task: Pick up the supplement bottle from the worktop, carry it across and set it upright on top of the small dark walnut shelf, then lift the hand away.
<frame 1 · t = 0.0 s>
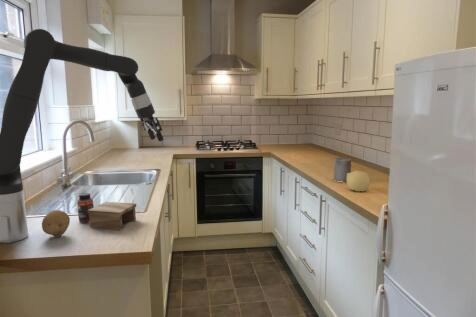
hand: (157, 139, 154), 31 cm above the countertop, tool tilted 20°, fingers open, 8 cm apart
supplement bottle: (86, 221, 144), on the countertop
walnut shelf: (113, 223, 140), on the countertop
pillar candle: (341, 181, 211), on the countertop
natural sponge: (57, 237, 126), on the countertop
tan rounded lump: (357, 190, 189), on the countertop
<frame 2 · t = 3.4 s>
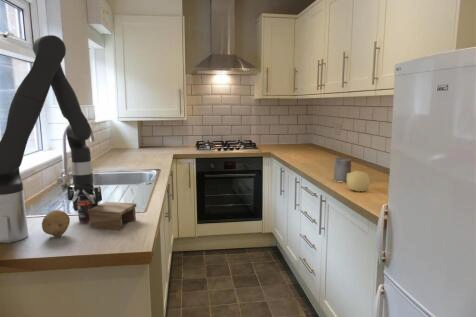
hand: (86, 211, 143), 4 cm above the countertop, tool pointing down, fingers open, 8 cm apart
nothing on the countertop moved.
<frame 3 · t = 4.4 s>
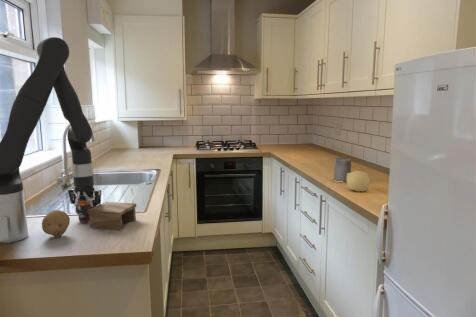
hand: (86, 214, 143), 3 cm above the countertop, tool pointing down, fingers closed on supplement bottle, 6 cm apart
supplement bottle: (86, 221, 144), on the countertop, touching gripper
everything else where it was.
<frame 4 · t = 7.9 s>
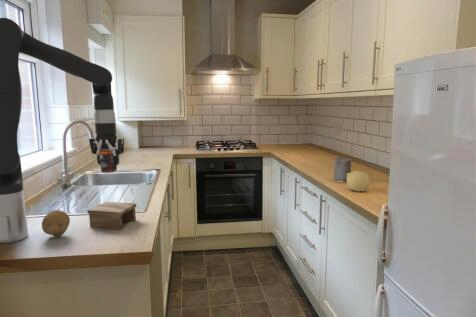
hand: (108, 164, 136), 24 cm above the countertop, tool pointing down, fingers closed on supplement bottle, 6 cm apart
supplement bottle: (109, 172, 137), point 21 cm above the countertop, touching gripper
everything else where it was.
when the fingers open (11 cm above the countertop, at t = 11.3 s): supplement bottle drops 1 cm, resting on walnut shelf.
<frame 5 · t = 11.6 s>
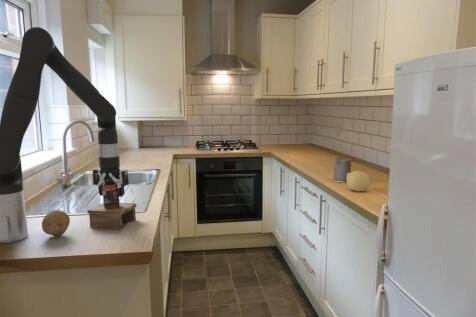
hand: (111, 195, 138), 12 cm above the countertop, tool pointing down, fingers open, 8 cm apart
supplement bottle: (111, 207, 139), point 7 cm above the countertop, touching walnut shelf
everything else where it was.
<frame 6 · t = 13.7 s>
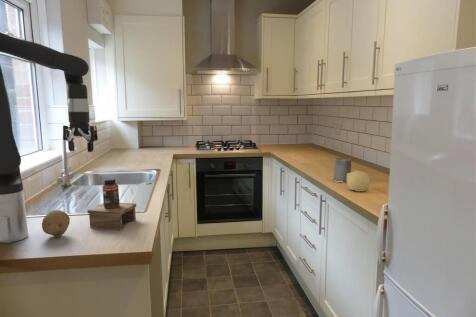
hand: (81, 151, 140), 29 cm above the countertop, tool pointing down, fingers open, 8 cm apart
nothing on the countertop moved.
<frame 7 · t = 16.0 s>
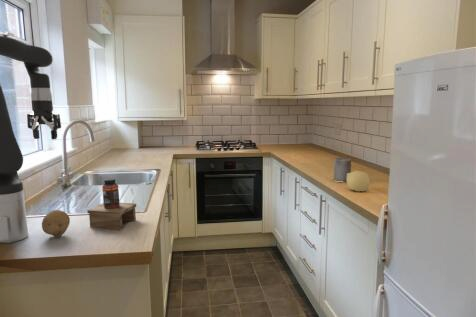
hand: (45, 138, 145), 33 cm above the countertop, tool pointing down, fingers open, 8 cm apart
nothing on the countertop moved.
at the end: supplement bottle inside the target area on the walnut shelf (0.2 cm from its centre), point 6.8 cm above the walnut shelf's base; supplement bottle tilted 0°; the gripper is holding nothing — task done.
